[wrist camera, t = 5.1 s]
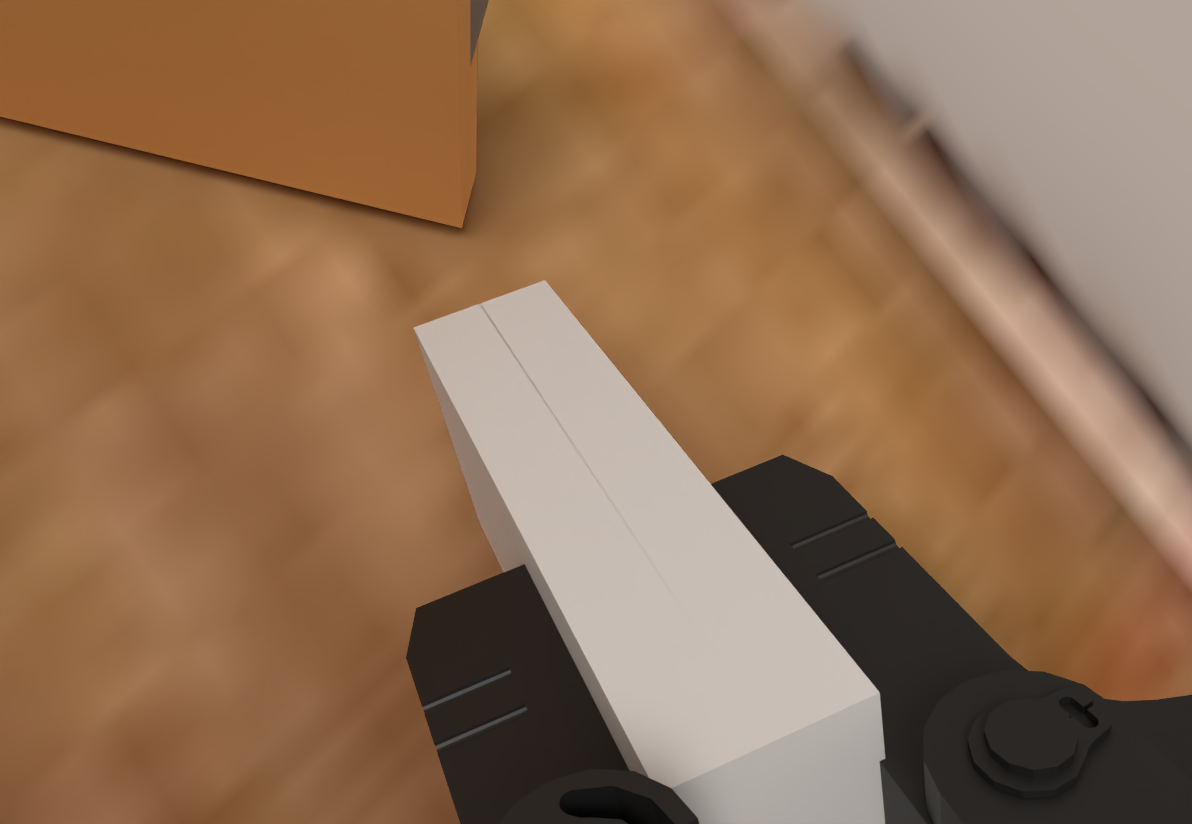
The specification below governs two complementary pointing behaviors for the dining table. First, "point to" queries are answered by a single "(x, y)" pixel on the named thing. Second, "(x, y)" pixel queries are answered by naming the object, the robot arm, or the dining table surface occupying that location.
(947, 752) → the robot arm
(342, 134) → the hatch
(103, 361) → the dining table surface
